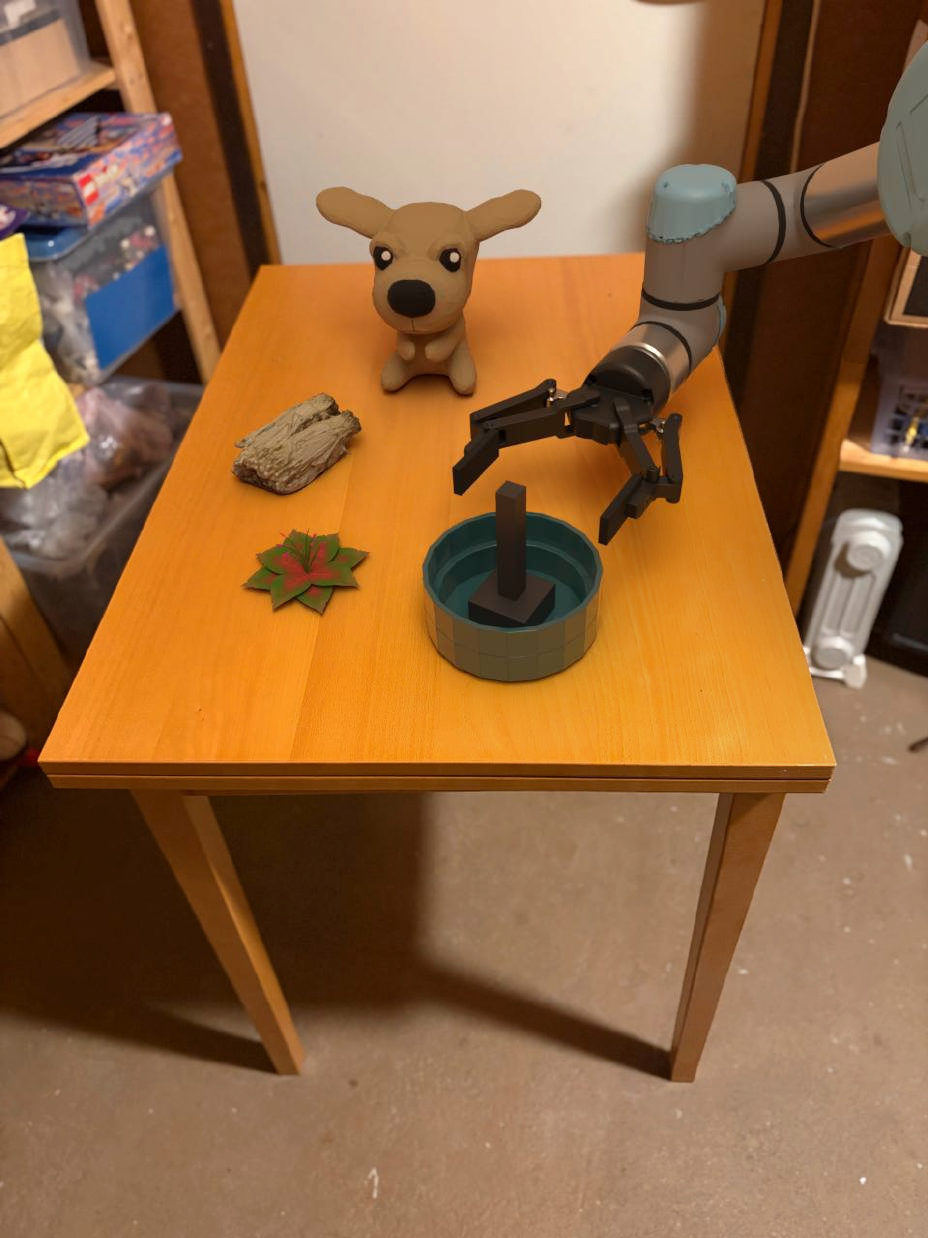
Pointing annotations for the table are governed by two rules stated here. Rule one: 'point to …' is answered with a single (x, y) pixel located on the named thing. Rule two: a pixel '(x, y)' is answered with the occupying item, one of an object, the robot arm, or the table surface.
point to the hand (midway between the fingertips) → (527, 506)
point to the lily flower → (305, 569)
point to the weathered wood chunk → (296, 445)
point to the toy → (426, 273)
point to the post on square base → (511, 571)
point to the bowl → (523, 650)
